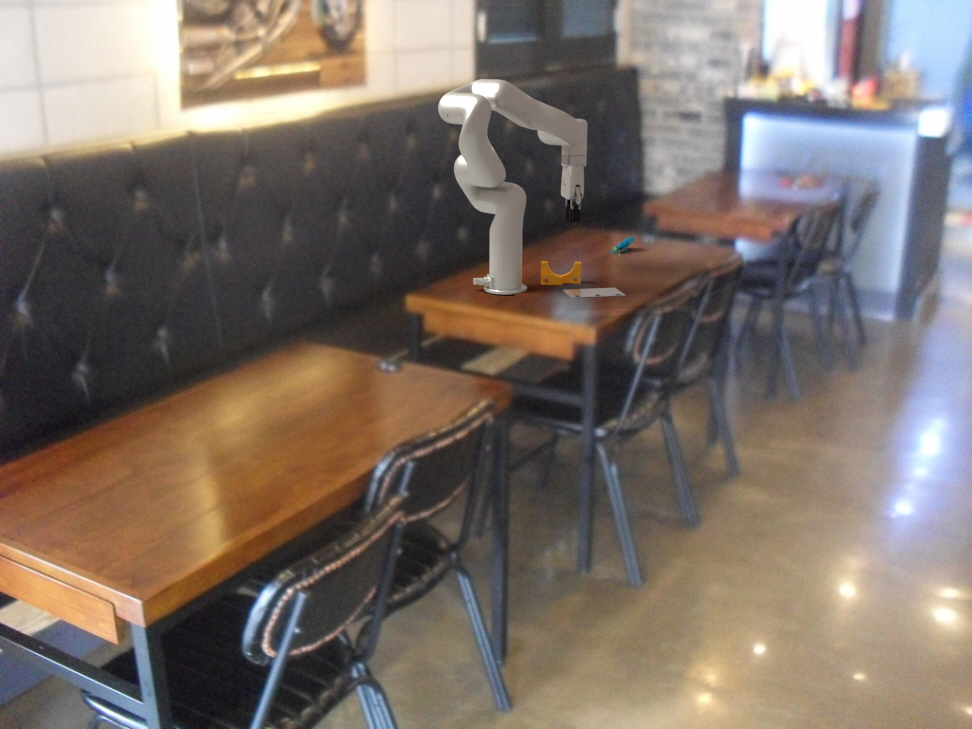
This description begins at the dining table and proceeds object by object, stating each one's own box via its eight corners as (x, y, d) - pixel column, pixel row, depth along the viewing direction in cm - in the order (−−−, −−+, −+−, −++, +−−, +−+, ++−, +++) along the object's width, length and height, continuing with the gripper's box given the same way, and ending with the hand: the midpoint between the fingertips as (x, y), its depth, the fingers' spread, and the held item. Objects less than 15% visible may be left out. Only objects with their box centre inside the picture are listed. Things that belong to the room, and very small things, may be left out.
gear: (618, 251, 362) (636, 232, 356) (628, 264, 361) (647, 246, 355) (601, 256, 354) (620, 237, 347) (612, 270, 352) (631, 250, 346)
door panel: (571, 297, 298) (571, 296, 298) (562, 290, 308) (562, 289, 308) (625, 295, 301) (625, 294, 301) (614, 288, 311) (614, 287, 311)
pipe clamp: (540, 285, 315) (541, 263, 314) (540, 282, 319) (541, 261, 318) (580, 285, 315) (581, 264, 313) (580, 282, 319) (581, 261, 317)
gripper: (555, 158, 325) (553, 217, 330) (569, 163, 309) (567, 225, 315) (578, 157, 326) (576, 216, 332) (593, 163, 311) (591, 224, 316)
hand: (572, 220), depth 323 cm, fingers open, 4 cm apart
